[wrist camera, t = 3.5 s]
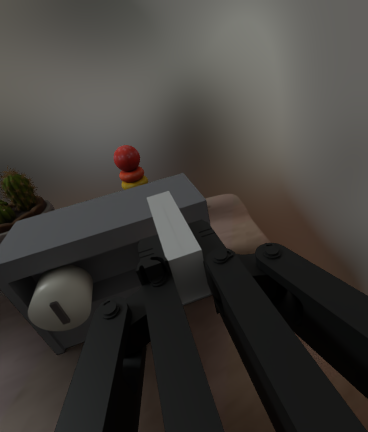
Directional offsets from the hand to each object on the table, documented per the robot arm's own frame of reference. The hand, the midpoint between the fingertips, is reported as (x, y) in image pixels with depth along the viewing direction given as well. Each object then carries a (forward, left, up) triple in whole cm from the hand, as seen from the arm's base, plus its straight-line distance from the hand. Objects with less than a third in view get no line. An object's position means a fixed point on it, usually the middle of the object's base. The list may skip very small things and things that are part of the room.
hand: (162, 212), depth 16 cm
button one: (-12, -9, -14) cm, 21 cm away
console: (-16, -1, -21) cm, 26 cm away
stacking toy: (-34, +10, -21) cm, 41 cm away
